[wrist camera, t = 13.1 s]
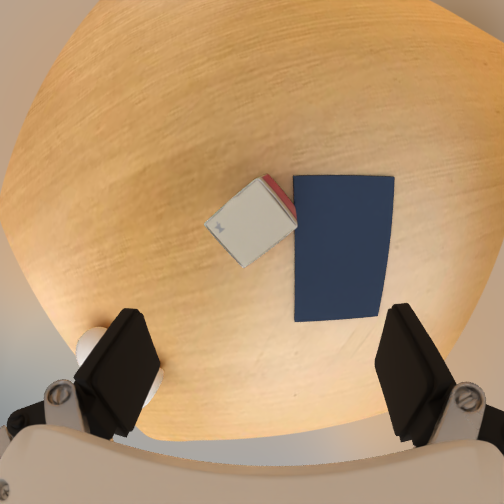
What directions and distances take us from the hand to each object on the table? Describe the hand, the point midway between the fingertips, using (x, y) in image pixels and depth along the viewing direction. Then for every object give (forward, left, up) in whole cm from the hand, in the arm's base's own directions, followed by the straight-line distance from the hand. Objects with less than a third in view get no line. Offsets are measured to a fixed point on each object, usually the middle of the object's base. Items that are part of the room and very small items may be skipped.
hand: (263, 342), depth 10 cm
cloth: (-7, +5, -18) cm, 20 cm away
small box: (+1, -1, -18) cm, 18 cm away
